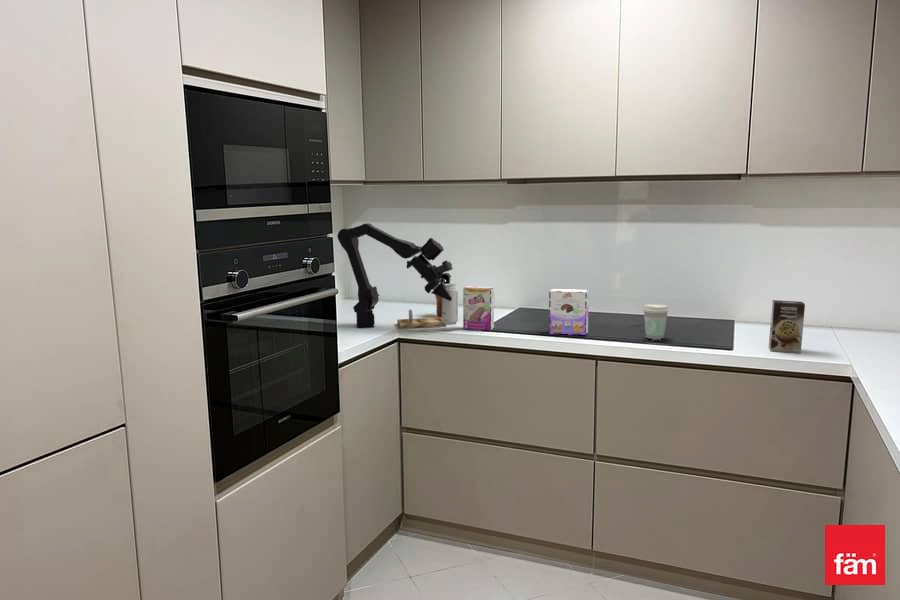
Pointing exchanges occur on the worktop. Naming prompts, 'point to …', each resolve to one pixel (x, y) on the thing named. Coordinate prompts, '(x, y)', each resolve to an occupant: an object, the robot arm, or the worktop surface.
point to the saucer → (410, 316)
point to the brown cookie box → (786, 326)
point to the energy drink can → (450, 305)
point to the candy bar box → (478, 308)
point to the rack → (420, 323)
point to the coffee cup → (655, 320)
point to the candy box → (568, 311)
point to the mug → (439, 306)
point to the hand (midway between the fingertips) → (453, 298)
